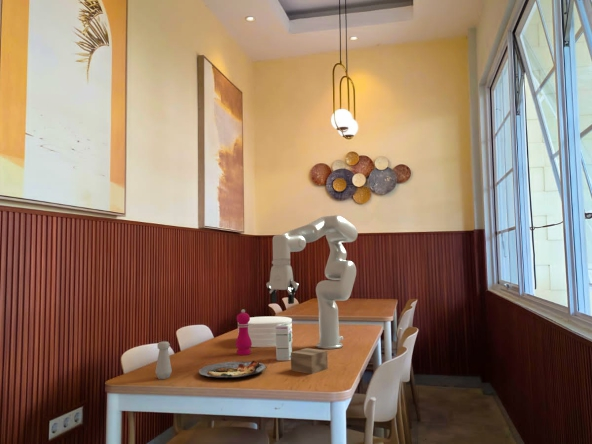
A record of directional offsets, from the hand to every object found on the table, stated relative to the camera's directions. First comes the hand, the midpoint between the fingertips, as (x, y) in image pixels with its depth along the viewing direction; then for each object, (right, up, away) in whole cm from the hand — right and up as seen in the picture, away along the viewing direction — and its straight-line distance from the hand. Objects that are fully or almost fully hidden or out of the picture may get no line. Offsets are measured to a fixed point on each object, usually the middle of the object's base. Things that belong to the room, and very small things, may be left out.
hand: (282, 303), depth 199 cm
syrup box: (+1, -24, -2) cm, 24 cm away
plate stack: (-10, -28, +41) cm, 50 cm away
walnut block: (+11, -22, -21) cm, 33 cm away
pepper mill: (-18, -25, +11) cm, 33 cm away
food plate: (-18, -23, -24) cm, 38 cm away
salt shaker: (-43, -23, -29) cm, 56 cm away
